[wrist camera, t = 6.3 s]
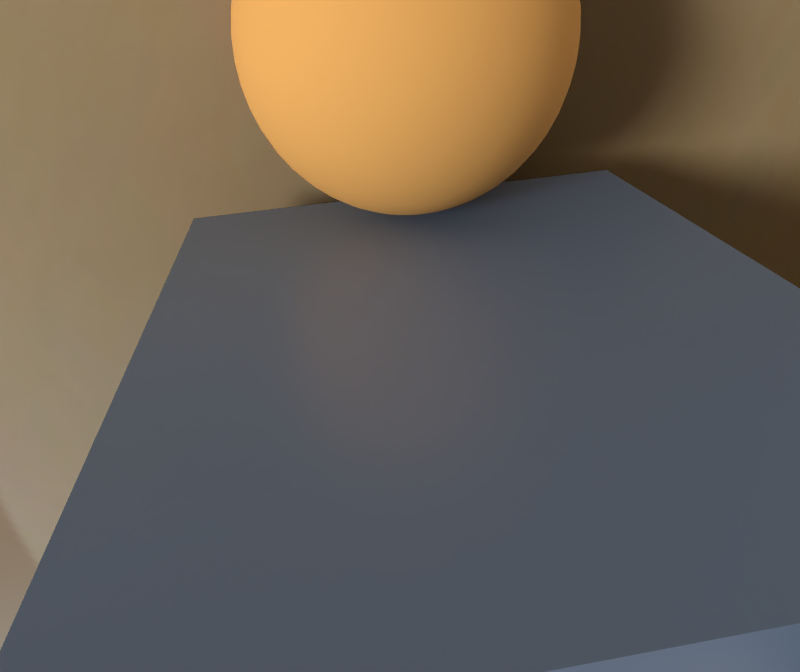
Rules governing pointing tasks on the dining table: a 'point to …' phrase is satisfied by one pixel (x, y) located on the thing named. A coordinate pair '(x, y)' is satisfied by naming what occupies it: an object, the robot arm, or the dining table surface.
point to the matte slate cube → (442, 451)
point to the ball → (405, 91)
